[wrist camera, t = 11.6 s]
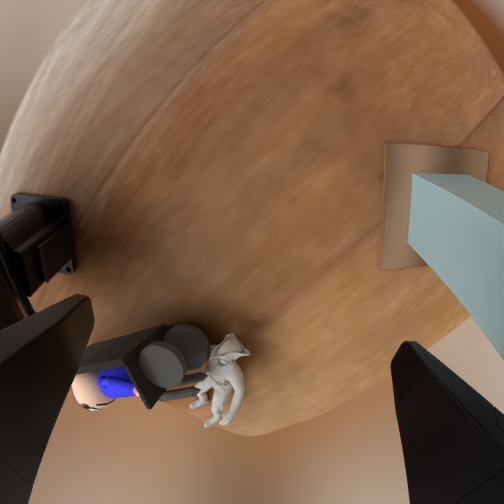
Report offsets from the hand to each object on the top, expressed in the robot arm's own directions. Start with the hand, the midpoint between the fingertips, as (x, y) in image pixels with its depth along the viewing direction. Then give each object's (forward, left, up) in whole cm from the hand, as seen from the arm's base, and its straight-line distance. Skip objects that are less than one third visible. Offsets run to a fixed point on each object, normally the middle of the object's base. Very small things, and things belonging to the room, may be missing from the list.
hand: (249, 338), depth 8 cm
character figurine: (-9, -15, -13) cm, 22 cm away
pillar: (+13, +2, -12) cm, 18 cm away
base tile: (+13, +2, -14) cm, 19 cm away
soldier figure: (-1, -16, -13) cm, 21 cm away
